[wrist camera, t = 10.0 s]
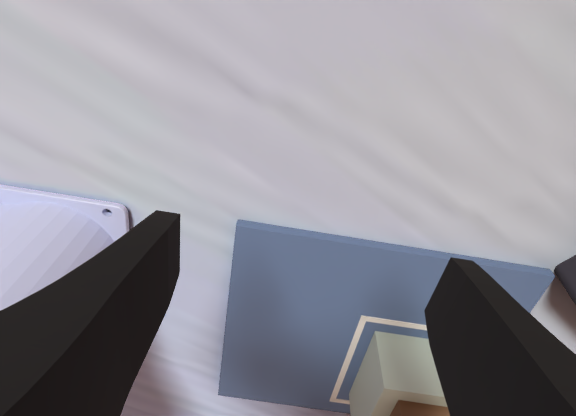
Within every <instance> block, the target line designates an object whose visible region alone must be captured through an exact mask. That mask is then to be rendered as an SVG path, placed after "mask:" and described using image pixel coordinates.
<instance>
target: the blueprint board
mask: <svg viewBox="0 0 576 416" xmlns="http://www.w3.org/2000/svg"><path fill="white" fill-rule="evenodd" d="M451 257H453V258H459V259H465V260H472V261H474V262H475V263H476V264H478V265H479V266H480V267H481V268H482V269H483V270H484V271H486V272H487V273H488V274H489V275H490V276H491V277H492V278H493V279H494V280H495V281H496V282H497V283H498V284H499V285H500V286H502V287H503V288H504V289H505V290H506V291H507V292H508V293H509V294H510V295H511V296H512V297H513V298H514V299H515V300H516V301H517V302H518V303H519V304H520V305H521V306H522V307H523V308H524V309H526V310H527V311H528V312H529V313H530V312H531V310H532V309H533V307H534V306H535V305H536V303H537V302H538V300H539V299H540V298H541V296H542V295H543V293H544V292H545V290H546V289H547V288H548V286H549V285H550V283H551V282H552V281H553V279H554V278H555V275H554V274H553V273H552V271H551V270H550V269H545V268H538V267H532V266H526V265H520V264H513V263H507V262H501V261H494V260H488V259H482V258H476V257H469V256H463V255H457V254H451V253H444V252H438V251H432V250H426V249H419V248H413V247H407V246H400V245H394V244H388V243H382V242H375V241H369V240H363V239H357V238H350V237H344V236H338V235H332V234H325V233H319V232H313V231H306V230H300V229H294V228H288V227H281V226H275V225H269V224H263V223H256V222H250V221H244V220H238V221H237V225H236V232H235V241H234V251H233V260H232V270H231V279H230V288H229V298H228V307H227V316H226V326H225V335H224V345H223V354H222V363H221V373H220V382H219V392H218V395H221V396H228V397H235V398H242V399H249V400H256V401H264V402H271V403H278V404H285V405H292V406H299V407H306V408H313V409H320V410H327V411H334V412H341V413H348V414H350V401H349V392H350V390H351V387H352V385H353V383H354V380H355V378H356V375H357V373H358V371H359V368H360V366H361V363H362V361H363V359H364V356H365V354H366V351H367V349H368V346H369V344H370V342H371V339H372V337H373V334H374V332H375V331H379V332H386V333H393V334H399V335H406V336H413V337H419V338H426V339H428V333H427V327H426V319H425V312H424V310H425V308H426V306H427V304H428V302H429V300H430V298H431V296H432V294H433V292H434V290H435V288H436V286H437V284H438V282H439V280H440V278H441V276H442V274H443V272H444V270H445V268H446V266H447V264H448V262H449V260H450V258H451Z"/></svg>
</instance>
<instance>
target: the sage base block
mask: <svg viewBox="0 0 576 416" xmlns="http://www.w3.org/2000/svg"><path fill="white" fill-rule="evenodd" d="M398 400H404V401H411V402H417V403H424V404H431V405H437V406H444V407H447V404H446V400H445V397H444V394H443V390H442V387H441V384H440V380H439V377H438V374H437V370H436V367H435V363H434V360H433V356H432V353H431V349H430V345H429V339H426V338H419V337H413V336H406V335H399V334H393V333H386V332H379V331H375V332H374V334H373V337H372V339H371V342H370V344H369V346H368V349H367V351H366V354H365V356H364V359H363V361H362V363H361V366H360V368H359V371H358V373H357V375H356V378H355V380H354V383H353V385H352V387H351V390H350V392H349V401H350V414H351V416H390V414H391V412H392V410H393V409H394V407H395V405H396V403H397V401H398Z"/></svg>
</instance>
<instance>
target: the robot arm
mask: <svg viewBox="0 0 576 416" xmlns="http://www.w3.org/2000/svg"><path fill="white" fill-rule="evenodd" d="M106 209H109V210H110V211H111V212H112V213H110V212H108V211H107V210H106ZM179 271H180V214H176V213H170V212H164V211H158V210H157V211H155V212H154V213H152V214H151V215H149V216H148V217H147V218H145V219H144V220H143V221H141V222H140V223H139V224H137V225H136V226H135V227H134V228H132V229H131V230H130V231H129V218H128V210H127V208H126V207H125V206H124V205H122V204H119V203H114V202H108V201H101V200H95V199H89V198H83V197H76V196H70V195H64V194H57V193H51V192H45V191H39V190H32V189H26V188H20V187H14V186H7V185H1V184H0V416H120V415H121V412H122V409H123V407H124V404H125V401H126V399H127V396H128V394H129V392H130V389H131V387H132V384H133V382H134V380H135V378H136V376H137V374H138V371H139V369H140V367H141V365H142V363H143V361H144V359H145V357H146V354H147V352H148V350H149V348H150V346H151V344H152V342H153V339H154V337H155V335H156V333H157V331H158V329H159V327H160V324H161V322H162V320H163V318H164V316H165V314H166V311H167V309H168V307H169V304H170V301H171V298H172V295H173V292H174V289H175V286H176V282H177V279H178V276H179ZM424 312H425V319H426V327H427V333H428V339H429V345H430V349H431V353H432V356H433V360H434V363H435V367H436V370H437V374H438V377H439V380H440V384H441V387H442V390H443V394H444V397H445V400H446V404H447V407H448V410H449V414H450V416H576V354H574V353H573V352H572V351H571V350H570V349H569V348H567V347H566V346H565V345H564V344H563V343H562V342H560V341H559V340H558V339H557V338H556V337H555V336H554V335H553V334H551V333H550V332H549V331H548V330H547V329H546V328H545V327H544V326H543V325H542V324H541V323H539V322H538V321H537V320H536V319H535V318H534V317H533V316H532V315H531V314H530V313H529V312H528V311H527V310H526V309H524V308H523V307H522V306H521V305H520V304H519V303H518V302H517V301H516V300H515V299H514V298H513V297H512V296H511V295H510V294H509V293H508V292H507V291H506V290H505V289H504V288H503V287H502V286H500V285H499V284H498V283H497V282H496V281H495V280H494V279H493V278H492V277H491V276H490V275H489V274H488V273H487V272H486V271H484V270H483V269H482V268H481V267H480V266H479V265H478V264H476V263H475V262H474V261H472V260H465V259H459V258H453V257H451V258H450V260H449V262H448V264H447V266H446V268H445V270H444V272H443V274H442V276H441V278H440V280H439V282H438V284H437V286H436V288H435V290H434V292H433V294H432V296H431V298H430V300H429V302H428V304H427V306H426V308H425V310H424Z"/></svg>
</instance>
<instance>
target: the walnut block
mask: <svg viewBox="0 0 576 416" xmlns="http://www.w3.org/2000/svg"><path fill="white" fill-rule="evenodd" d="M390 416H450V414H449V410H448V407H444V406H437V405H431V404H424V403H417V402H411V401H404V400H398V401H397V403H396V405H395V407H394V409H393V410H392V412H391V414H390Z"/></svg>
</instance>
